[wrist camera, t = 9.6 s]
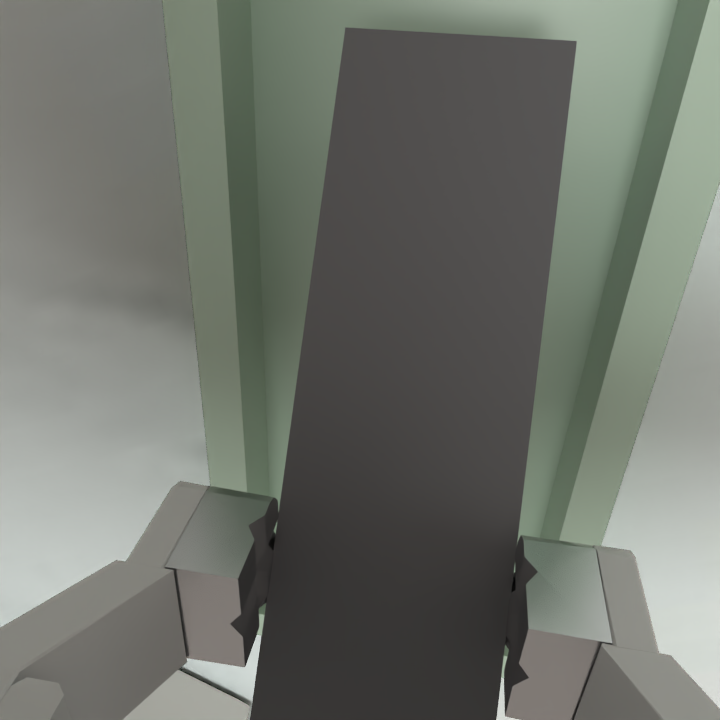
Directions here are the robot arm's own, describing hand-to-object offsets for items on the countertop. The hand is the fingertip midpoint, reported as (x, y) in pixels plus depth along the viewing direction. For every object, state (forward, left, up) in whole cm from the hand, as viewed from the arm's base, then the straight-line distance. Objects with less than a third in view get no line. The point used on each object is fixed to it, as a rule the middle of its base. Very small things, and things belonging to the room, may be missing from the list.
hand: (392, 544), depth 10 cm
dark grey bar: (0, -2, -3) cm, 3 cm away
